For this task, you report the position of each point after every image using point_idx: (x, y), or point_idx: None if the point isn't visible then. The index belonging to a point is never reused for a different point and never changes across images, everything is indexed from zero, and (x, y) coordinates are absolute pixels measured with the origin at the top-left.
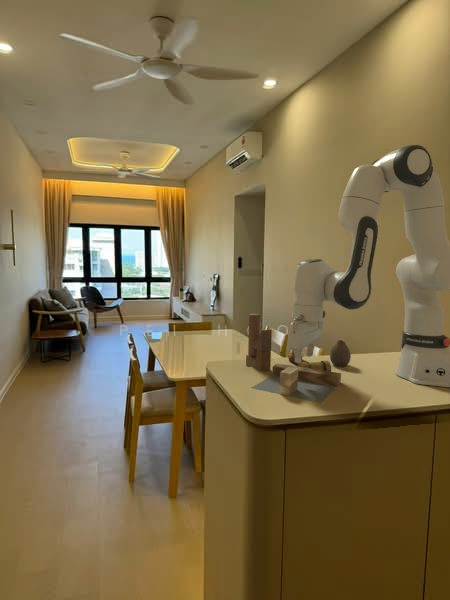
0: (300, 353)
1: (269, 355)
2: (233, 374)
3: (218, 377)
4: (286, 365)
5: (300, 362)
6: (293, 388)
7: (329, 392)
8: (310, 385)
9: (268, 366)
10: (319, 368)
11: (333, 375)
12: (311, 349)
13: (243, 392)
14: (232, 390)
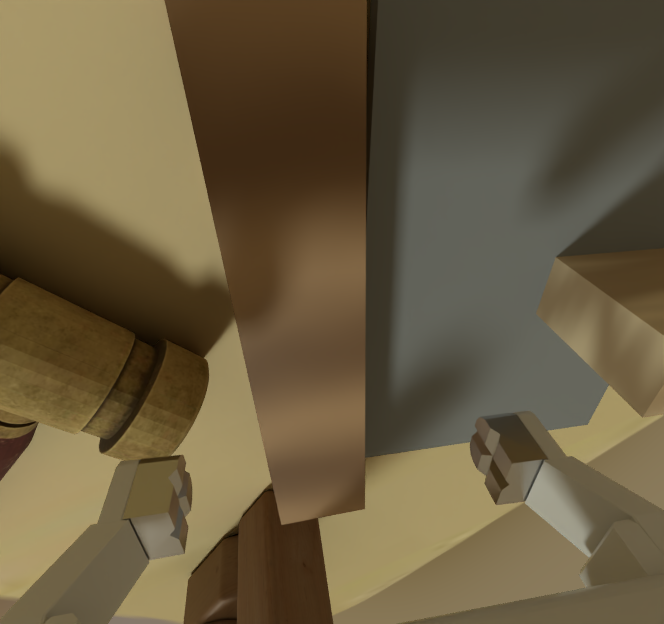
0: (641, 499)
1: (283, 602)
2: (394, 540)
3: (457, 543)
4: (290, 479)
5: (528, 412)
6: (647, 264)
7: (562, 2)
8: (435, 221)
9: (282, 526)
10: (38, 317)
11: (338, 47)
12: (119, 547)
13: (606, 420)
14: (591, 453)
